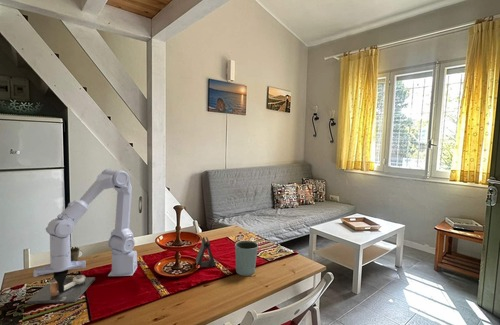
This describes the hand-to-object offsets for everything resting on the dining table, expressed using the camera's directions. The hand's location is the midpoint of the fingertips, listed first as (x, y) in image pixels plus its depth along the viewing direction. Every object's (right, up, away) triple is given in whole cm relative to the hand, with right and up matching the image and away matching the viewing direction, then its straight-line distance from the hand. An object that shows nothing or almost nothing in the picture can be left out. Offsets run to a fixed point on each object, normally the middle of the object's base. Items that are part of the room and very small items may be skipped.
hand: (61, 291), depth 92 cm
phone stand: (+45, -3, +30) cm, 54 cm away
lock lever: (-1, -1, +5) cm, 5 cm away
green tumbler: (+64, -4, +26) cm, 69 cm away
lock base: (-3, -2, +5) cm, 6 cm away
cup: (-12, -1, +22) cm, 25 cm away
